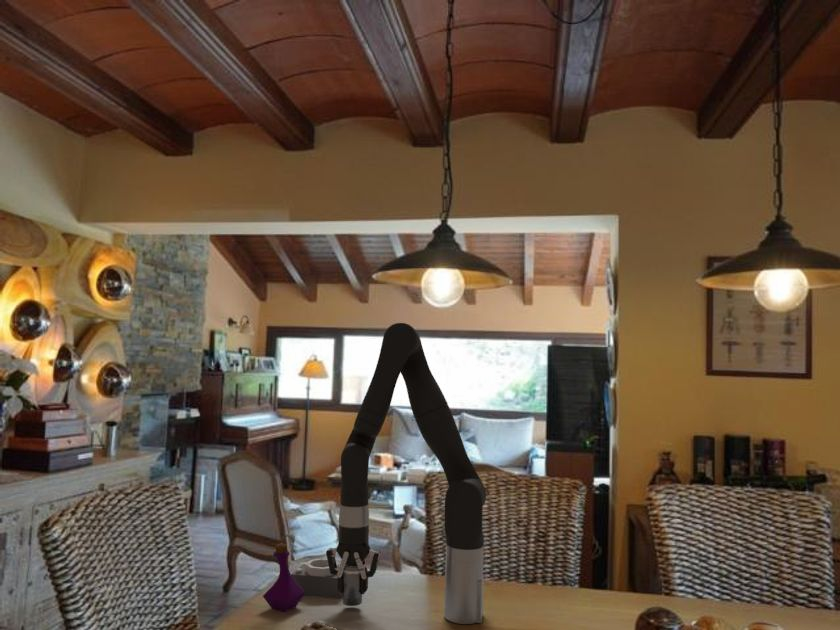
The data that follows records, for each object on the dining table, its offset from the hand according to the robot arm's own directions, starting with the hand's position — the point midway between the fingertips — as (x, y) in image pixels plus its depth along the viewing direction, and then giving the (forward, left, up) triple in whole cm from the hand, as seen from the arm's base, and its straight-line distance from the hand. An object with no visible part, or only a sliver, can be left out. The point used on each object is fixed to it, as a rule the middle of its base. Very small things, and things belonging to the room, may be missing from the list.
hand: (352, 592), depth 158 cm
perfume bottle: (+16, +4, -4) cm, 17 cm away
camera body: (+11, -10, -4) cm, 16 cm away
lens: (0, 0, -2) cm, 2 cm away
